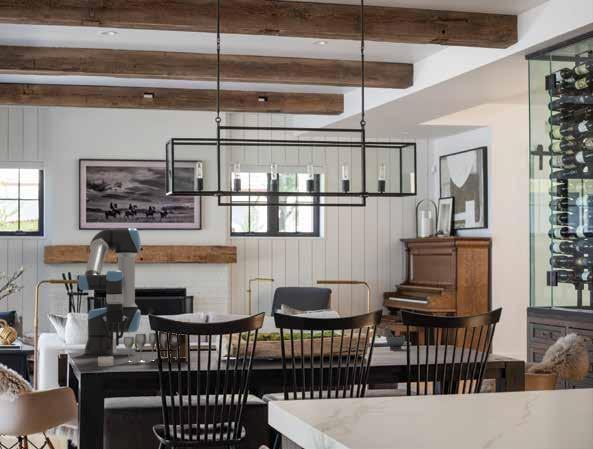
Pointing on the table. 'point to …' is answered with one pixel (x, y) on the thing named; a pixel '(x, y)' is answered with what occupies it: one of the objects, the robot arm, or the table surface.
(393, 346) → the mortar and pestle
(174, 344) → the goblet set
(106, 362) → the cream squat rounded piece
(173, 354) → the walnut shelf
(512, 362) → the table surface
